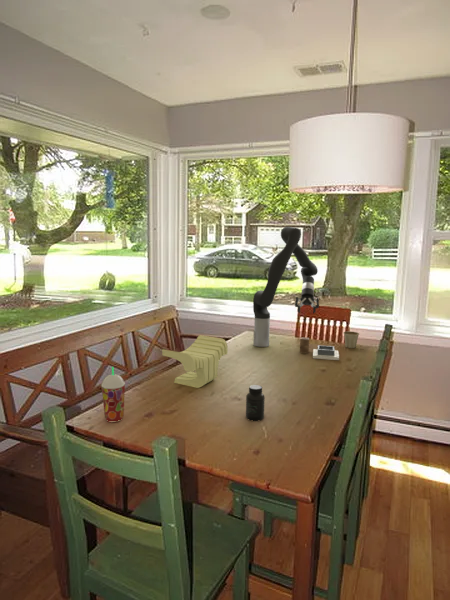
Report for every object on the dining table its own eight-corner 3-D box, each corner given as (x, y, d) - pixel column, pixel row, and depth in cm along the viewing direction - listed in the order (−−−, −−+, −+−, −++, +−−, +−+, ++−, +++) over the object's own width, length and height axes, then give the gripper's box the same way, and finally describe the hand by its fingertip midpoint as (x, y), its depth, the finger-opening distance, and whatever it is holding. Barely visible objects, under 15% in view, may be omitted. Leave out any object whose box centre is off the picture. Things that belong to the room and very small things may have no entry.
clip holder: (312, 358, 238) (313, 350, 237) (313, 351, 251) (313, 343, 250) (339, 360, 235) (339, 352, 234) (337, 353, 248) (338, 345, 247)
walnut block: (299, 352, 249) (300, 338, 247) (300, 350, 253) (300, 337, 251) (308, 353, 248) (309, 339, 246) (308, 351, 252) (309, 337, 250)
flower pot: (339, 345, 264) (339, 332, 263) (351, 344, 268) (352, 330, 267) (349, 349, 256) (350, 335, 254) (361, 348, 260) (362, 334, 258)
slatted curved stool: (193, 395, 182) (193, 354, 180) (162, 388, 190) (162, 349, 187) (227, 375, 208) (227, 339, 206) (199, 369, 216) (199, 335, 213)
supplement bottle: (252, 412, 166) (253, 382, 164) (267, 417, 162) (268, 386, 160) (242, 418, 161) (242, 387, 159) (257, 423, 157) (257, 391, 155)
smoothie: (116, 412, 164) (115, 362, 161) (130, 419, 159) (129, 366, 156) (97, 420, 158) (95, 367, 155) (111, 426, 153) (110, 372, 149)
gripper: (296, 287, 268) (294, 308, 258) (319, 287, 265) (318, 309, 256) (296, 294, 274) (294, 315, 264) (319, 295, 271) (318, 316, 261)
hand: (306, 312), depth 260 cm, fingers open, 8 cm apart
